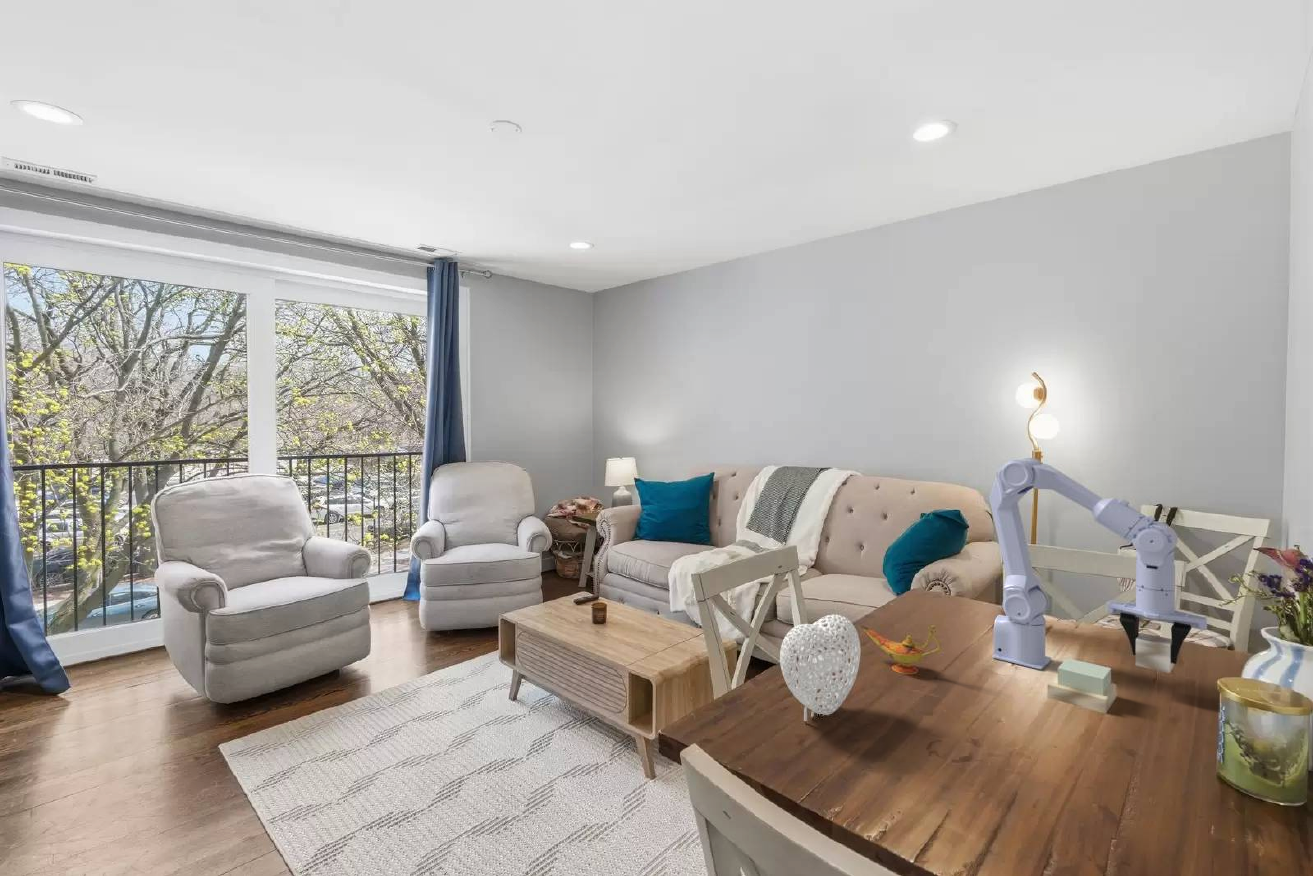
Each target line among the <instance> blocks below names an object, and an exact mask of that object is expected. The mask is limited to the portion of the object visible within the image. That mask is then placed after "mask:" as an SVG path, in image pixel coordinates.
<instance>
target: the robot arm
mask: <svg viewBox="0 0 1313 876" xmlns="http://www.w3.org/2000/svg"><path fill="white" fill-rule="evenodd" d="M995 476H996V477H995V480H994V483H993V486H992V489H991V491H990V494H989V504H990V507H991V511H992V518H993V521H994V526H995V530H996V534H997V539H998V540H997V541H998V543H999V548H1000V554H1001V558H1002V563H1003V566H1004V571H1005V581H1004V584H1003V591H1004V597H1003V600H1002V609H1003V612H1004V613H1005V615H1003V614H998V615H997V616H996V618H995V620H994V625H993V655H992V658H993V659H996V660H1000V661H1004V662H1007V663H1013V664H1017V665H1021V666H1025V667H1029V668H1033V669H1036V670H1043V669H1044V668H1045V667H1046V666H1047V665H1048V664H1049V663H1050V662H1051V661H1052V660H1053V659H1052V657H1051V656H1046V618H1045V617H1044V613H1045V612H1046V611H1047V610H1048V608H1049V605H1050V600H1049V597H1048V595H1047V593H1046V592H1045V591H1044V590H1043V588H1042V586H1041V582H1040V580H1039V578H1038V577H1037V576H1036V575H1035V574H1034V570H1033V565H1032V562H1031V561H1032V560H1031V557H1030V553H1029V548H1028V544H1027V540H1026V535H1025V534H1026V533H1025V530H1024V526H1023V521H1022V516H1021V511H1020V507H1019V502H1020V501H1021V500H1022V498H1023V497H1024V496H1025V495H1026V494H1028V492H1029V491H1030V490H1032V489H1038V490H1050V491H1054V492H1056V493H1058V494H1060V495H1061V496H1063V497H1065V498H1067V499H1068V500H1070V501H1072V502H1074V503H1075V504H1077V505H1079V506H1081V507H1083V508H1085V509H1086V510H1088V511H1090V512H1091V513H1092V515H1093V519H1094V521H1095V522H1097V523H1098V524H1099V525H1101V526H1102V527H1104V528H1106V529H1107V530H1109V531H1111V532H1113V533H1114V534H1117V536H1119V537H1121V538H1123V539H1124V540H1126V541H1130V542H1131V543H1132V546H1133V547H1134V548H1135V550H1136V562H1135V604H1134V603H1126V602H1118V601H1111V600H1109V601H1107V603H1106V613H1108V614H1112V615H1113V614H1118V615H1120V616H1119V622H1120V624H1121V626H1122V628H1123V629H1124V632H1125V634H1126V636H1127V638H1128V641H1129V644H1130V647H1131V652H1132V656H1136V638H1137V637H1138V636H1139V634H1140V633H1139V631H1140V630H1139V628H1140V619H1145V620H1151V621H1156V622H1162V623H1168V624H1172V626H1171V628H1170V633H1171V634H1170V635H1171V639H1172V651H1171V663H1173V664H1174V665H1176V664H1177V663H1178V659H1179V653H1180V651H1181V648H1182V645H1183V644H1184V643H1183V642H1184V641H1185V639H1186V638H1187V636H1188V635H1189V634H1190V632H1191V630H1192V628H1195V629H1198V630H1201V631H1207V628H1208V618H1207V616H1206V617H1205V616H1199V615H1195V614H1191V613H1186V612H1183V611H1179V610H1176V606H1175V605H1176V600H1175V598H1176V565H1175V559H1176V558H1175V552H1174V551H1173V550H1174V548H1175V547H1176V546H1177V545H1178V534H1177V533H1176V531H1175V530H1174V528H1172V527H1171V526H1169V524H1168V523H1167V522H1163V521H1155V520H1156V518H1155V517H1153V516H1152V515H1149V516H1147V515H1145V514H1143V513H1142V512H1140V511H1138V510H1136V509H1134V508H1133V507H1131V506H1129V504H1130V502H1129V501H1127V500H1125V499H1123V498H1122V499H1120V500H1119V499H1117V498H1115V497H1112V498H1111V497H1109V498H1102V497H1101V496H1100V495H1098V494H1096V493H1095V492H1093V491H1092V490H1090V489H1088V488H1087V487H1085V486H1084V485H1082V484H1081V483H1079V482H1078V481H1076V480H1074V479H1073V478H1071V477H1069V476H1067V475H1066V474H1065V473H1063V472H1061V471H1060V470H1058V469H1057V468H1055V467H1054V466H1052V465H1050V464H1047V463H1043V462H1042V461H1041V460H1039V459H1037V458H1034V457H1027V458H1023V459H1012V460H1009V461H1006V462H1005V463H1004V464H1003V465H1002V466H1001V467H1000V468H999V469H998V470H997V471H996V472H995Z"/></svg>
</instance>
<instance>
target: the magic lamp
mask: <svg viewBox="0 0 1313 876" xmlns="http://www.w3.org/2000/svg"><path fill="white" fill-rule="evenodd" d="M930 627H931V628H930ZM858 628H859V629H861V630H862V631H864V632H865V633H866V635H867V636H868V637H869V638H871V640H872V642H874V643H875V644H876V646H877V647H879V648H880V649H881V650H882V651H884V652H885V653H886V654H887V655H888V656H890V658H892V659H893V660H895V661H897V662H898V663H897V664H893V665H892V666H891V669H892V670H893V671H895V672H896V673H899V674H903V675H915V674H917V673H918V672H919V670H918V668H916V667H915V666H913V665H912V664H914V663H917V662H919V661H920V662H921V663H922V664H923V665H928V664H929V660H927V663H925V662H924V661H923V657H924V656H926V655H930V654H933V653H935V652H937V651H939V649H940V648H941V644H940V641H939V640H938V639H937V638H936V636H935V635H934V634H936V633H937V629H936V625H929V626H928V630H929V634H928V637H927V639H926V642H925V643H924V645H922V646H919V645H918V644H916V643H915V640H914V639H913V638H912V637H911V636H910V635H907V636H906V639H904V640H903V641H902V642H897V641H893V640H890V639H887V638H885V637H883V636H882V635H880V634H878V633H877V632H875V631H874V630H872V629H871V628H869V627H867V626H864V625H859V626H858ZM933 630H934V631H933ZM931 637H933V639H934V640H935V642H936V643H937V648H936V649H934V650H931V651H929V652H928V651H927V652H924V653H923V649H925V648H926V647H927V646H928V644H929V642H930V640H931Z"/></svg>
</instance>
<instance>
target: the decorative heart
mask: <svg viewBox="0 0 1313 876" xmlns="http://www.w3.org/2000/svg"><path fill="white" fill-rule="evenodd" d="M826 625H827V626H826ZM839 627H840V628H839ZM799 636H800V637H799ZM860 641H861V640H860V637H859V634H858V631H857V629H856V627H855V626H854V624H853V623H852V621H850V619H848V618H847V617H845V616H843V615H839V614H828V615H825V616H823V617H821V618H819V619H818V620H816V621H815V622H813V623H812V624H811V623H803V624H797V625H795V626H794V627H793V628H791V629H790V630H789V631H788V632H787V633H786V635H784V638H783V640H782V644H781V646H780V654H779V663H780V664H779V665H780V668H781V669H780V670H781V673H782V676H783V678H784V681H785V684H786V685H787V688H788V689H789V690H790V692H791V693H792V695H793V696H794V697H795V698H796V699H797V700H798V701H799V702H800V703H801V704H802V705H803V706H804V708H803V721H807V722H808V709H809V710H811V712H810V718H811V717H813V716H814V717H815V714H817V715H818V714H819V715H820V714H823V715H822V716H824V715H827V716H829V715H831V714H833V713H834V712H836V711H837V710H838V709H839V708H841V705H842V704H843V702H845V700H846V698H847V697H848V695H849V693H850V691H851V689H852V687H853V686H854V684H855V681H856V678H857V675H858V673H859V668H860V662H861V653H862V652H861V642H860ZM825 648H826V649H825ZM842 650H843V651H842ZM797 659H798V660H797ZM849 659H850V661H849ZM840 671H841V672H840ZM833 673H834V674H835V675H833ZM834 679H835V680H834ZM818 690H819V692H818ZM816 698H817V699H816ZM821 706H822V707H821ZM818 709H819V710H818Z"/></svg>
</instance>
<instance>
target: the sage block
mask: <svg viewBox="0 0 1313 876" xmlns="http://www.w3.org/2000/svg"><path fill="white" fill-rule="evenodd" d="M1057 674H1058V684H1060V685H1064V686H1068V687H1072V688H1076V689H1080V690H1083V691H1087V692H1091V693H1095V694H1099V695H1104V693H1105V692H1106V690H1107V689H1108V687H1109V686H1110V684H1111V683H1112V668H1111V667H1106V666H1103V665H1100V664H1099V665H1098V664H1095V663H1090V662H1086V661H1082V660H1077V659H1073V658H1068V657H1067V658H1066V659H1065V660H1063V662H1062V663H1061V664H1060V665H1059V666H1058V667H1057Z"/></svg>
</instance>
